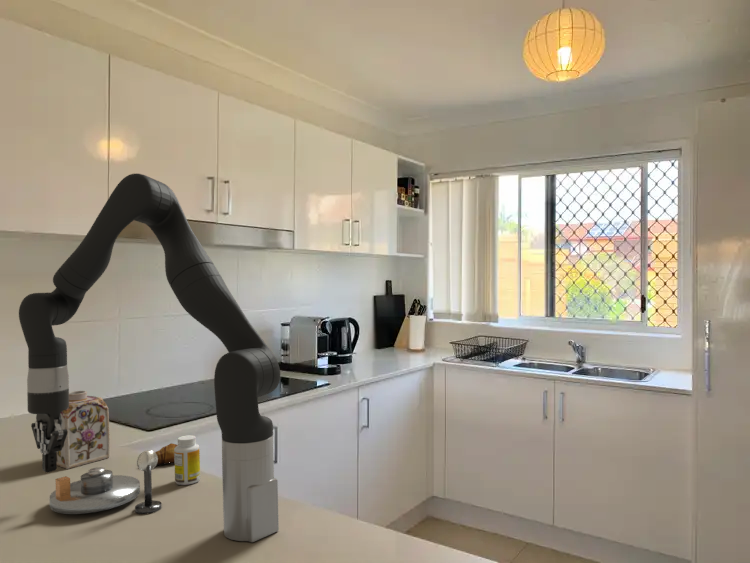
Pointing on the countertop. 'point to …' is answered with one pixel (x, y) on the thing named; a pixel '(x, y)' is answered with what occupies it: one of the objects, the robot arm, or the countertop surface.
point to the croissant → (166, 454)
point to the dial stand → (147, 482)
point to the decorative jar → (84, 431)
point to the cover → (96, 481)
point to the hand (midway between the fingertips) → (49, 470)
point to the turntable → (92, 496)
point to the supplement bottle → (187, 460)
